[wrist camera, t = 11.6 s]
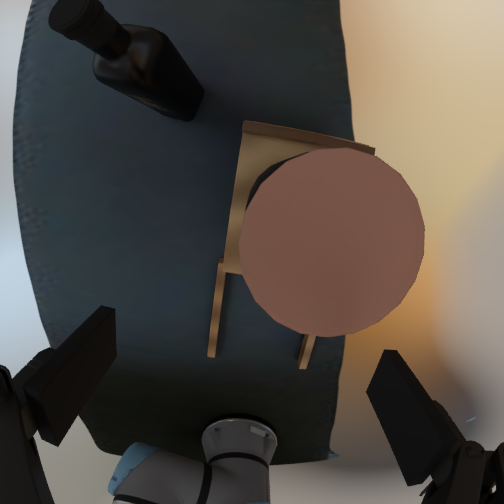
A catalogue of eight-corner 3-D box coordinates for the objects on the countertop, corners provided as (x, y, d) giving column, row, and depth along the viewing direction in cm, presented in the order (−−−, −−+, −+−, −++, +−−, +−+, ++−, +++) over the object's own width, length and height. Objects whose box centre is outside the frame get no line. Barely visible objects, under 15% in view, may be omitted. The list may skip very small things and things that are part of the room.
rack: (304, 361, 50) (315, 408, 38) (209, 348, 50) (197, 396, 38) (351, 151, 41) (385, 147, 29) (239, 130, 41) (233, 115, 29)
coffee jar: (360, 222, 33) (447, 274, 16) (280, 272, 35) (302, 367, 18) (311, 140, 31) (371, 111, 14) (227, 193, 33) (196, 219, 15)
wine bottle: (192, 123, 40) (81, 53, 11) (157, 113, 40) (17, 49, 11) (207, 88, 39) (128, -31, 10) (171, 78, 38) (58, -26, 9)
